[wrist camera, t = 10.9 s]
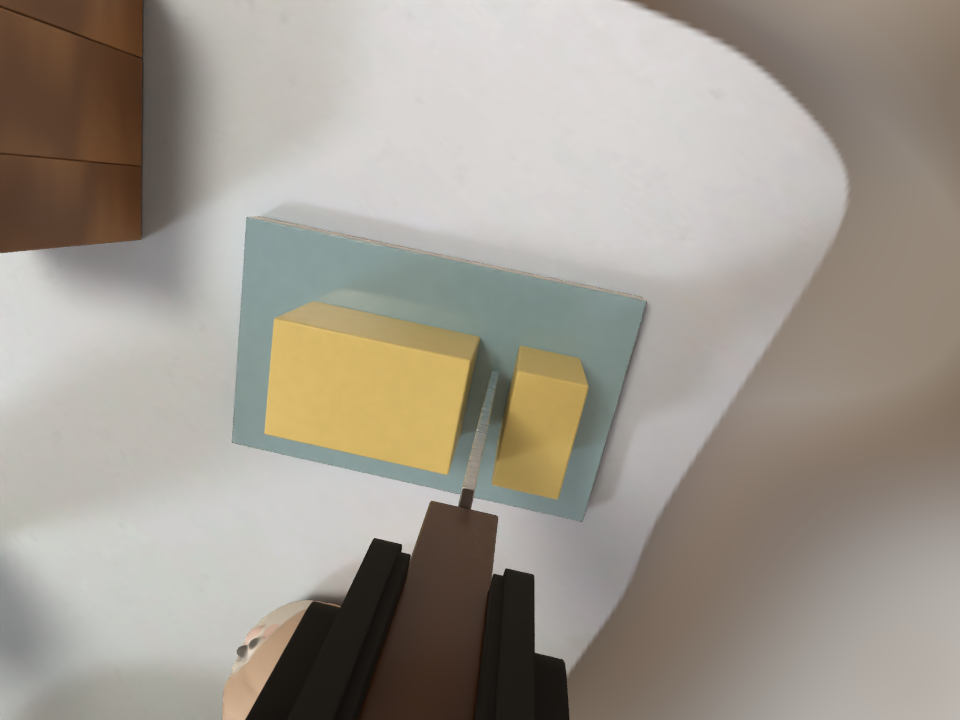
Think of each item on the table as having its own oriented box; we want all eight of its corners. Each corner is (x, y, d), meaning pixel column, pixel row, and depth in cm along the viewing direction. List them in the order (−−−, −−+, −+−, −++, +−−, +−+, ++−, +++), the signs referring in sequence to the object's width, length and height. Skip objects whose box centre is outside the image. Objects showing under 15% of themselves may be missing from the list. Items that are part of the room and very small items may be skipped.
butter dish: (258, 216, 22) (246, 216, 21) (642, 296, 22) (647, 301, 21) (242, 433, 25) (231, 443, 24) (580, 509, 25) (582, 522, 24)
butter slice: (519, 344, 22) (517, 370, 18) (581, 357, 22) (589, 386, 18) (496, 444, 23) (490, 485, 20) (554, 457, 23) (558, 500, 20)
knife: (475, 366, 21) (269, 941, 5) (515, 375, 21) (453, 988, 5) (460, 436, 22) (245, 1128, 5) (499, 444, 22) (399, 1168, 5)
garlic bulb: (244, 584, 28) (134, 731, 20) (361, 565, 27) (292, 712, 19) (288, 686, 29) (202, 857, 22) (399, 671, 28) (350, 846, 21)
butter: (312, 300, 22) (272, 317, 19) (480, 336, 22) (471, 360, 18) (301, 401, 23) (263, 434, 20) (460, 436, 23) (447, 476, 20)
